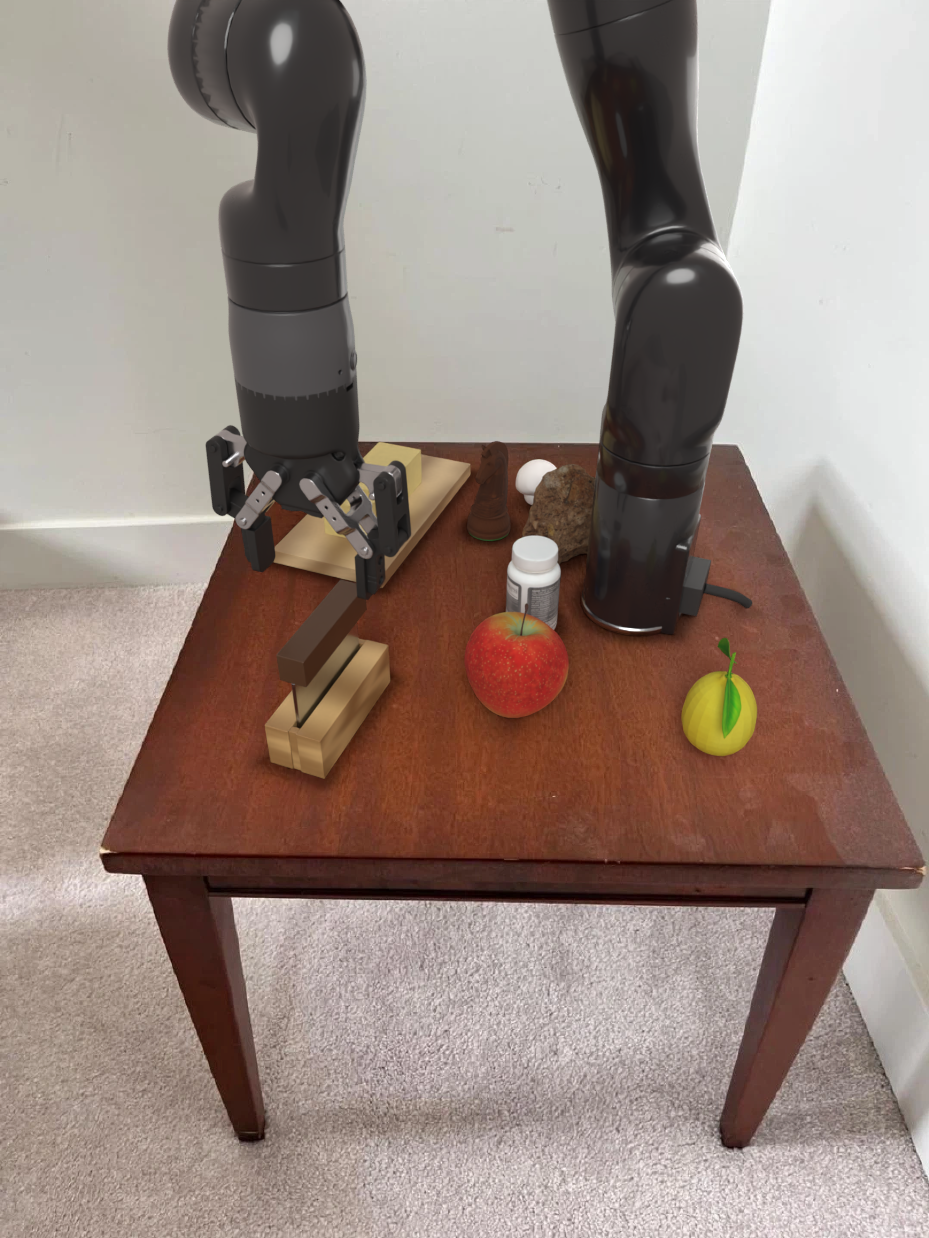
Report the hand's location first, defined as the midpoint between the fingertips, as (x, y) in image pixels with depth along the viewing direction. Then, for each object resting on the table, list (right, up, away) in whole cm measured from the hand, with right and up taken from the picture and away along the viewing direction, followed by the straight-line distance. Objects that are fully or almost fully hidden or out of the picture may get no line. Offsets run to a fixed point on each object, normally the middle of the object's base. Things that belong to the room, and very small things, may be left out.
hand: (315, 579), depth 68 cm
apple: (+15, -10, +10) cm, 20 cm away
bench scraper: (0, -11, +8) cm, 14 cm away
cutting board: (+2, +8, +33) cm, 34 cm away
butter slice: (-1, +6, +27) cm, 28 cm away
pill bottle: (+17, -3, +19) cm, 25 cm away
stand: (0, -11, +8) cm, 14 cm away
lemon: (+30, -13, +6) cm, 33 cm away
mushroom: (+19, +10, +36) cm, 42 cm away
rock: (+21, +3, +27) cm, 35 cm away
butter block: (+2, +10, +33) cm, 35 cm away
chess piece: (+13, +7, +31) cm, 35 cm away
